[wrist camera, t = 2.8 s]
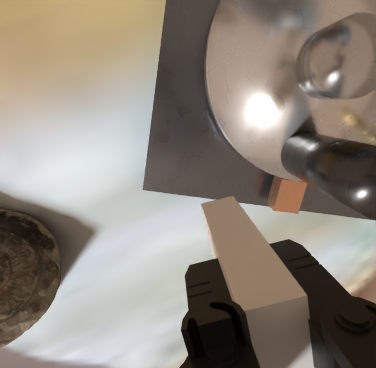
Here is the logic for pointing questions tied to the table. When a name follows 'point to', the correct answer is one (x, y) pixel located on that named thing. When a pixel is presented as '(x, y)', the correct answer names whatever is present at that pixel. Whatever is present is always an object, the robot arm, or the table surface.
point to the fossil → (25, 273)
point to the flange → (298, 94)
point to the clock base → (202, 125)
